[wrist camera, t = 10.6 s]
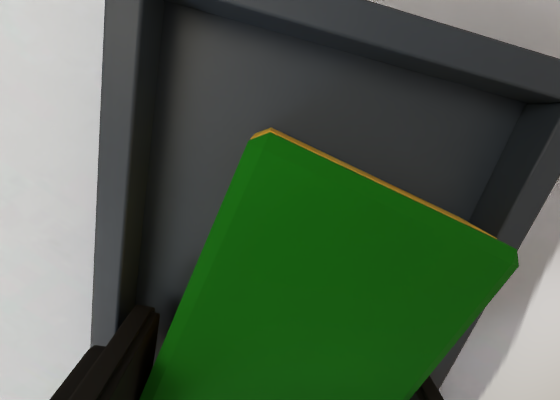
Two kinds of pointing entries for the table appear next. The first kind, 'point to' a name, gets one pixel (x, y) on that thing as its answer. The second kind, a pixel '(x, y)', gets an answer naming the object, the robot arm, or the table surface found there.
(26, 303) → the table surface
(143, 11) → the tray
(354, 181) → the dish sponge
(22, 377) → the table surface
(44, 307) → the table surface
